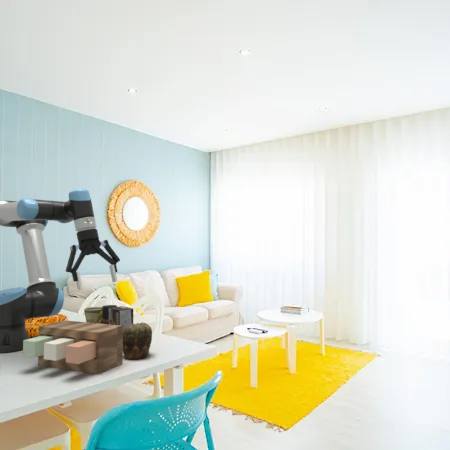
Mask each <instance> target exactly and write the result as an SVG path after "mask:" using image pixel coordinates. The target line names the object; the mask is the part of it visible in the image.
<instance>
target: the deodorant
mask: <svg viewBox="0 0 450 450" xmlns="http://www.w3.org/2000/svg"><path fill="white" fill-rule="evenodd" d="M101 307H102V324H109V308H113V307H118V305H116V304H106V305H102V306H101Z"/></svg>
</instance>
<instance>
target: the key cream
mask: <svg viewBox="0 0 450 450" xmlns="http://www.w3.org/2000/svg"><path fill="white" fill-rule="evenodd" d="M73 343H75V338H70V337H64V338H60V339H57V340H53V341H49V342H46V343H44V359H47V360H53V361H57V360H60V359H63V358H66V346H67V345H70V344H73Z"/></svg>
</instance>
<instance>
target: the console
mask: <svg viewBox="0 0 450 450" xmlns="http://www.w3.org/2000/svg"><path fill="white" fill-rule="evenodd" d="M42 335H52V336H54V340H57V339H60V338H64V337H70V338H75V343H76V342H80V341H83V340H86V339H88V340H96V341H97V357H96V358H93V359H91V360H88V361H85V362H83V363H80V364H74V363H67V362H66V358H63V359H60V360H57V361H53V360H47V359H44V355H41V356H38V357H37V359H38V360H37V365H38V366H43V367H50V368H55V369H56V368H57V369H62V370H63V369H64V370H69V371H76V372H83V373H88V374H89V373H90V374H95V375H100V374H103V373H104V372H107V371H109V370H112V369H114V368H116V367H118V366H121V365H123V360H124V358H123V356H124V353H123V326H121V325H110V324H99V323H88V322H86V321H75V320H66V319H65V320H61V321H57V322H52V323H47V324H44V325H39V326H38V337H39V336H42Z"/></svg>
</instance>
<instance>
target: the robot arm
mask: <svg viewBox="0 0 450 450" xmlns="http://www.w3.org/2000/svg"><path fill="white" fill-rule="evenodd" d="M49 221H54V222H58V223H61V224H68V223H71V222H73V225H74V228H75V231H76V238H77V242H78V244H77V245H76V244H73V245H71V246H70V247H69V248H70V252H69V257H68V260H67V265H66V268H65V272H66V273H69V274H71V277H72V281H73V282H75V283H76V287H77V291H81V290H83V285H82V280H81V275H80V271H78V269H79V267H80V266H81V263H82V262H83V260H84V259H85V257H87V256H90V255H96V254H97V255H99V256H100V257H101V258H103V259H104V260H105V261H106V262H108V263H109V264H110V265H108V266H109V272H110V275H111V280H112V283H115V282H118V277H117V273H118V268H117V267H118V266H117V263H119V262H120V261H121V259H120V258H119V256H118V255H117V253H116V252H115V251H114V249H113V248H112V247H111V245H110V243H109V241H108V239H104V240H102V241H101V240H100V237H99V233H98V229H97V223H96V218H95V213H94V208H93V203H92V198H91V195H90V191H89V190H88V189H84V188H79V189H73V190H71V191H69V192H68V200H67V201H62V200H61V201H59V200H45V199H44V200H43V199H35V198H21V199H19V200H18V201H16V200H0V226H1V227H6V228H15V230H16V233H17V234H18V235H20V236H21V241H22V242H21V243H22V248H23V249H22V250H23V252H24V253H23V254H24V260H25V266H26V270H27V276H28V283H29V284H28V285H27V286H26V287H25V286H24V287H23V286H22V287H11V288H7V289H6V288H5V289H2V290H0V353H1V354H4V353H12V352H17V351H18V352H19V351H23V340H27V339H30V338H29V334H28V331H27V329H26V321H27V320H31V319H38V318H50V317H52V316H56V315H58V314H59V313H60V312H61V311H62V309H63V306H64V300H65V294H64V291H63V290H62V289H63V288H61V287H57V284H56V281H54V280H52V278H51V274H50V268H49V267H50V266H49V263H48V257H47V252H46V247H45V246H46V245H45V241H44V234H43V231H45V229H46V227H47V225H48V222H49ZM101 246H102V247H103V248H104V249H102V248H101ZM78 250H80V251H81V252H80V253H79V254H78V255H79V256H78V257H77V260H76V262H75V257H76V254H77V251H78ZM104 250H105V251H106V252H105V251H104Z"/></svg>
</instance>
